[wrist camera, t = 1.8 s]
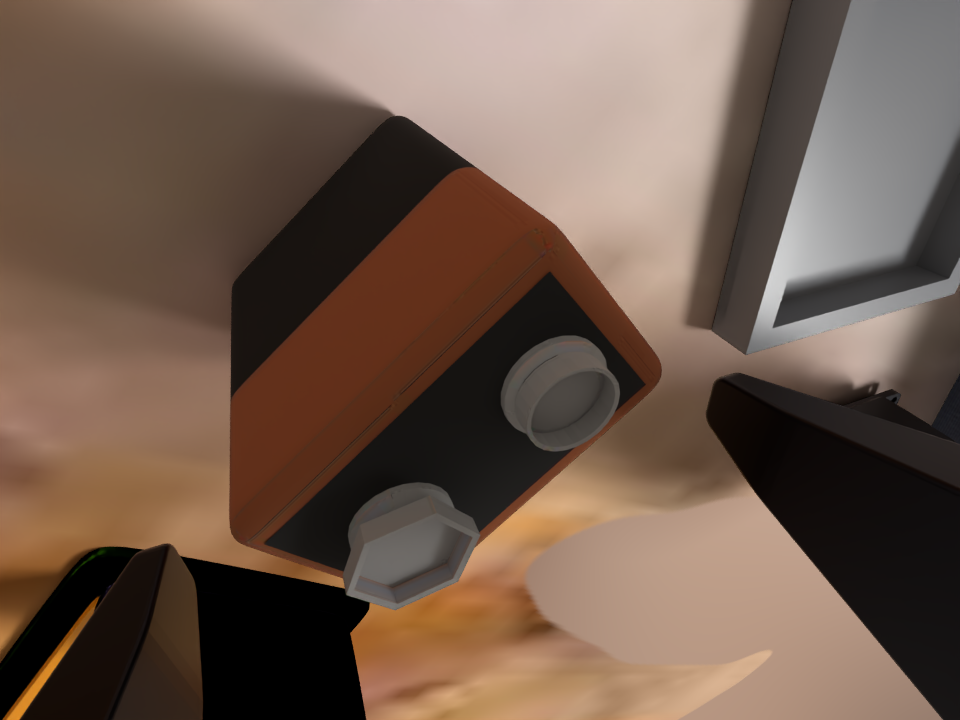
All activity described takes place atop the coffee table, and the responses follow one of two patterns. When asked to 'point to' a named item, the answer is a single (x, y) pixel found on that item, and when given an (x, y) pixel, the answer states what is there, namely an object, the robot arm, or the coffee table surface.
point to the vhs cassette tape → (950, 414)
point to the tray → (850, 174)
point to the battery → (414, 369)
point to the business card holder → (217, 641)
